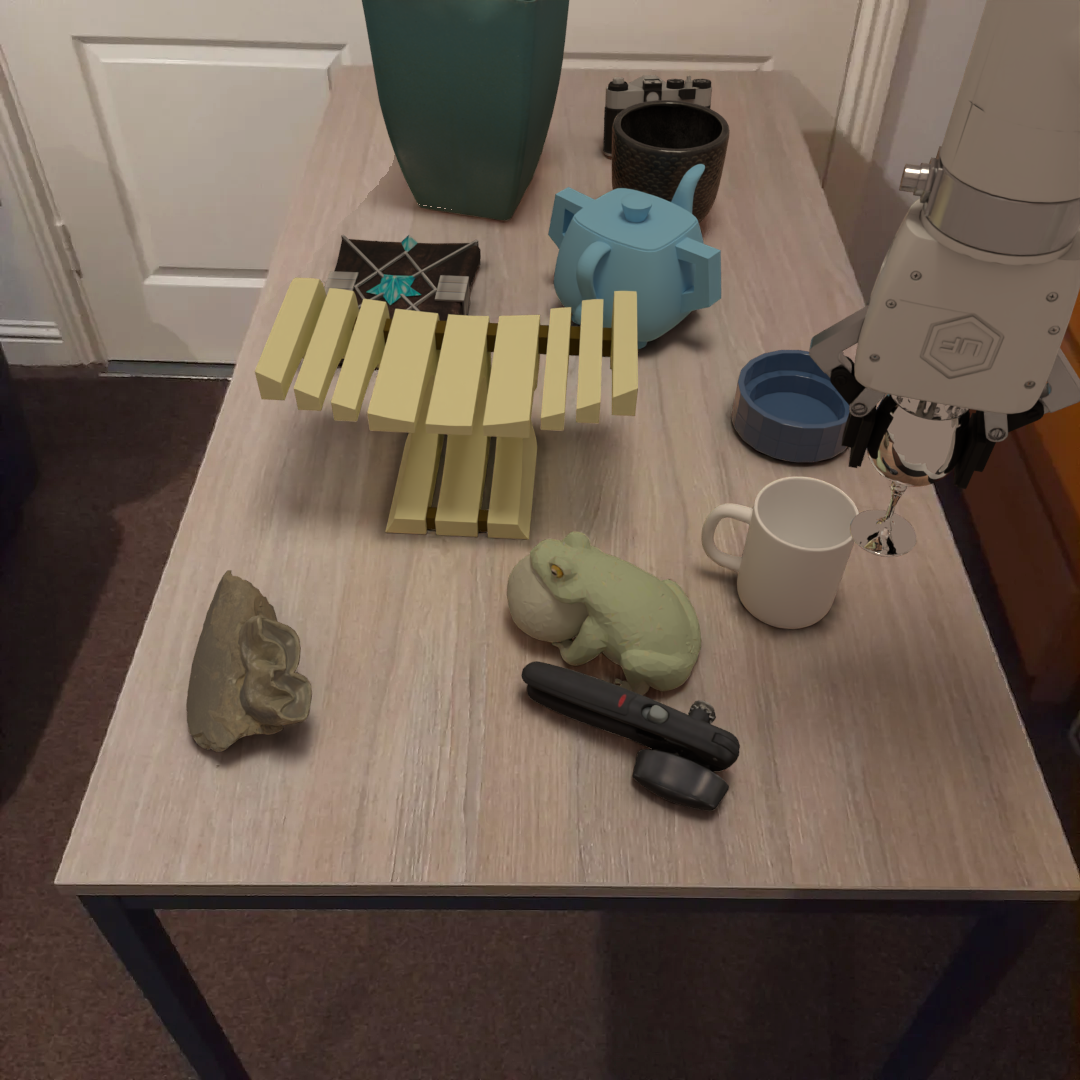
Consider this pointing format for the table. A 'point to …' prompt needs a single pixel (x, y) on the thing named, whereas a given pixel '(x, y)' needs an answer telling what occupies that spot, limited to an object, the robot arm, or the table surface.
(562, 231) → the teapot
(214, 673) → the fossil
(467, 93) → the flower pot
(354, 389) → the slatted curved stool
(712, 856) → the table surface
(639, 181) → the planter
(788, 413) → the bowl
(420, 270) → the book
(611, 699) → the can opener
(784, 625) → the cup
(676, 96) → the camera
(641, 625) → the figurine
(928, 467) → the wineglass
